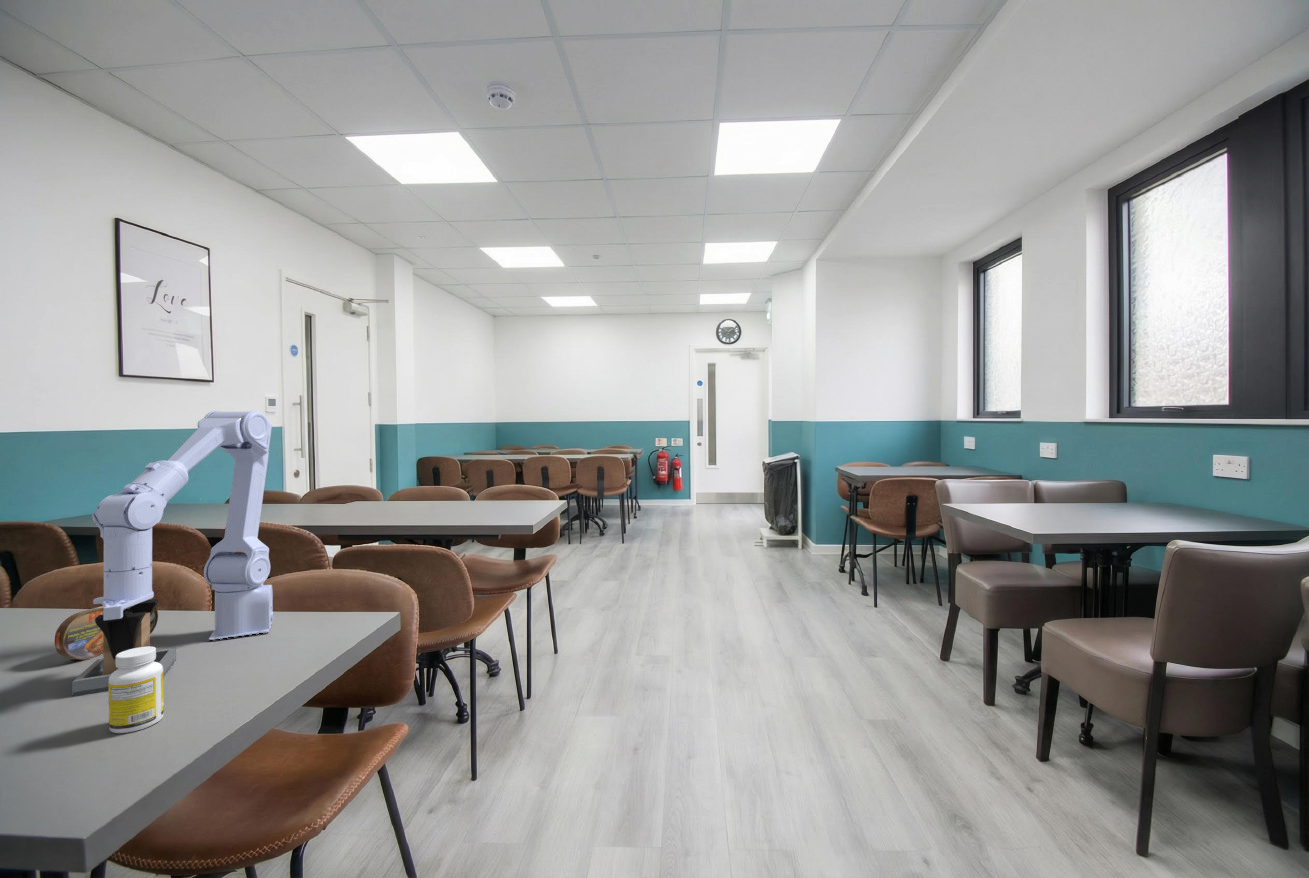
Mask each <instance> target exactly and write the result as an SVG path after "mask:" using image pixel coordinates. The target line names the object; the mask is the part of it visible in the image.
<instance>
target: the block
mask: <svg viewBox="0 0 1309 878" xmlns="http://www.w3.org/2000/svg"><path fill="white" fill-rule="evenodd" d="M148 646H150V647H151V634H150V613H146V614H145V615H144V617H143V619H142V621H141V623H140V626H139V628H138V632H137V636H136V642H135V648H139V647H148ZM102 656H103V675H109V674H112V673H113V672H114V671H116V670H118V668H117V667H116V664H115V663H116V659H115V660H114V659H113V657H112V654H111V651H110V648H109V645H108V642H107V639H106V637H105V635H104V633H103V655H102Z"/></svg>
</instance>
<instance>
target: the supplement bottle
mask: <svg viewBox="0 0 1309 878" xmlns="http://www.w3.org/2000/svg"><path fill="white" fill-rule="evenodd" d="M156 651H157V648H156V647H155V646H151V645H150V646H148V647H139V648H134V649H130V650H126V651H123V652H121V653H119V654H117V655H116V663H115V664H116V667H117V668H118V670H116V671H114V672H113V673H112V674H111V675H110V677H109V683H108V684H109V691H108V726H109V729H108V730H109V731H110V732H112V733H114V734H127V733H133V732H137V731H140V730H143V729H146V728H149V727H151V726H153V725H156V723H158V722H159V721H161V720H162V719H163V718H164V708H165V707H164V677H163V666H162V665H161V664H160V663H158V662H154V660H155V659H156Z"/></svg>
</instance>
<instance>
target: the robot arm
mask: <svg viewBox="0 0 1309 878" xmlns="http://www.w3.org/2000/svg"><path fill="white" fill-rule="evenodd" d="M272 427H273V425H272V424H271V422H270V420H269V419H268V418H267V416H265V414H264V413H263V412H262V411H258V410H250V411H220V410H213V411H209V412H208V413H206V414H205V416H204V417H203V418H201V419H200V420H198V421H197V428H196V430H195V431H194V432H193V433H192V434H191V435H190V436H189V437H188V438H187V440H186V441H184V443H183V444H182V445H181V446H180V447H179V448H178V449H177V450H176V451H175V452H174V453H173V454H172V455H171V456H170V457H169V458H168V459H167V460H164V459H163V460H157V461H156V460H155V461H154V462H149V463H148V464H147V465H145V466H144V468H145V470H144V471H143V472H142V473H140V474H139V475H138V476H137V477H136V478H135V479H133V481H131V482H130V483H126V485H125V486H124V487H122V490H121V491H120V492H119V493H114V494H110V495H108V496H106V497H105V498H103V500H101V501H100V502H99V504H97V506H96V509H95V511H94V512H93V513H92V512H91V517H92V521H93V522H94V524H95V525H96V527H98V529H99V531H100V538H102V540H103V596H99V597H95V598H94V599H93V600H92V601H93V602H92V604H93V605H102V606H104V614H103V615H99V616H97V617H96V618H95V623H96V625H97V626H98V627H99V628H100V629H101V630H102V632H103V633H104V635H105V637H106V639H107V642H108V645H109V648H110V651H111V654H112V657H113V659H114V660H115V659H116V655H117V654H119V653H121V652H123V651H126V650H130V649H134V648H135V642H136V636H137V632H138V628H139V626H140V623H141V621H142V619H143V617H144V615H145V614H146V613H150V617H151V614H152V612H153V610H154V608H155V607H156V608H157V606H158V604H159V599H157V598H155V599H154V596H155V593H154V591H153V527H154V526H155V525H157V524H158V523H159V522H160V521H161V520H162V518H163V515H164V510H165V508H166V507H167V503H168V502H169V501H170V500H171V499H172V498H173V497H174V496H175V495H177V493H178V492H179V491H180V490H181V489H182V488H183V487H185V486H186V484H187V483H189V472H190V471H191V470H192V469H193V468H194V467H196V466H197V465H199V463H201V462H202V461H203V460H204V459H206V458H207V457H208V456H209V455H210V454H212V453H213V452H214V451H215V450H216V449H217V448H219V449H220V450H222V451H224V452H226V453H227V454H229V456H231V457H232V458H233V459H234V461H235V462H234V466H233V467H234V468H233V476H232V482H231V489H230V496H229V504H228V507H227V508H228V510H227V514H226V515H227V518H226V524H225V530H224V537H223V539H222V540H220V541H219V542H217V543H216V544H215V545H214V546H212V547H211V550H210V554H209V558H208V559H207V561H206V563H205V565H204V569H203V577H204V580H205V582H206V583H207V584H208V585H210V587H211V588H210V589H211V591H214V630H213V632H212V633H211V635H210V636H209V637H208V641H209V640H213V639H219V638H220V640H222V639H221V638H227V639H229V638H228V637H234V636H235V637H234V638H237V637H236V636H242V637H245V636H244V635H249V636H253V635H252V634H256V635H260V634H259V633H263V634H268V633H269V632H270V631H271V628H272V626H271V624H272V625H273V623H274V617H275V616H274V611H273V608H274V607H273V598H274V595H273V585H272V584H264V583H265V581H267V579H268V577H269V576H270V572H271V561H270V557H269V553H270V548H269V546H267V545H266V544H265V543H263V542H262V541H261V540H260V539H259V538H258V537H259V529H260V523H261V522H260V521H261V513H262V507H263V500H264V491H265V486H266V477H267V469H268V464H269V463H268V462H269V455H270V454H269V452H270V442H271V435H272ZM236 553H237V554H236ZM241 553H242V554H241ZM243 553H244V554H243ZM272 622H273V623H272ZM269 630H270V631H269ZM267 632H268V633H267ZM213 641H214V640H213Z"/></svg>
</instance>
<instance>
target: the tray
mask: <svg viewBox="0 0 1309 878" xmlns="http://www.w3.org/2000/svg"><path fill="white" fill-rule="evenodd" d="M175 661H177V648H176V647H174V648H166V649H160V650H156V659H155V660H154V662H158V663H160V664H161V665H162V666H163V678H164V677H165V676H166V675H167V673H168V672H169V671H170V670H171V668H172V667H173V666H174V664H175V663H176V662H175ZM174 662H175V663H174ZM171 666H172V667H171ZM110 675H111V674H109V675H103V658H97V659H96V660H95V661H94V662H92V664H90V665H89V666H88V667H87V668H86V669H85V670H84V671H82V673H80V674H79V675H78V676H77V677H76V678H75V679H73V680H72V682H71V683H72V684H71V689H72V690H71V691H72V692H71V693H72V694H71V695H72V697H77V696H78V697H79V696H83V695H89V694H95V693H96V694H97V693H102V692H109V684H108V683H109V677H110Z"/></svg>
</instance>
